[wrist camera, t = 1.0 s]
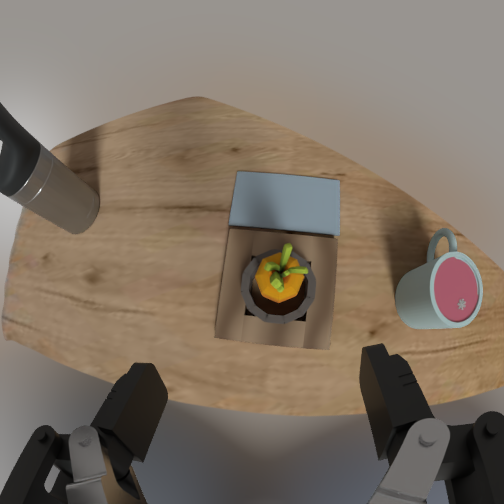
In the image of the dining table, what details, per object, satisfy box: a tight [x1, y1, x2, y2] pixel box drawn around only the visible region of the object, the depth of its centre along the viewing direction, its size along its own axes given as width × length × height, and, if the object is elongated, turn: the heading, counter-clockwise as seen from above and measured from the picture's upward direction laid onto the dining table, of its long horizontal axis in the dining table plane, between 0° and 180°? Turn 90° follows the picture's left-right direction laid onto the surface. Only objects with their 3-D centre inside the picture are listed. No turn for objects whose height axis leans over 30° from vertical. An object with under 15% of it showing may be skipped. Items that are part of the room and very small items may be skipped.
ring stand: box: [214, 229, 338, 350], centre depth 35 cm, size 15×15×4 cm
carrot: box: [255, 243, 308, 303], centre depth 29 cm, size 5×5×15 cm
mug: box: [395, 228, 483, 329], centre depth 30 cm, size 14×9×10 cm
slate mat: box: [229, 171, 340, 236], centre depth 40 cm, size 16×9×1 cm, turn 83°
